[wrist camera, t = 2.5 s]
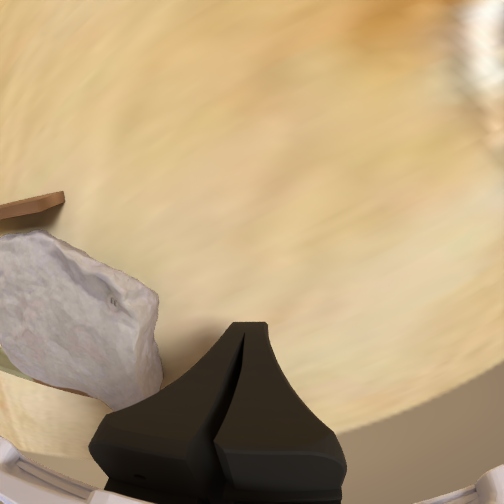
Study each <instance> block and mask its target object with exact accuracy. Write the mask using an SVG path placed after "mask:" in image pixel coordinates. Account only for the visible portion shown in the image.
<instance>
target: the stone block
mask: <svg viewBox="0 0 504 504" xmlns="http://www.w3.org/2000/svg"><path fill="white" fill-rule="evenodd" d="M158 304H159V299H158V294H157V293H156V292H155V291H153V290H151V289H150V288H148V287H147V286H145V285H144V284H143V283H142V282H140V281H139V280H137V279H135V278H133V277H130V276H129V275H127V274H126V273H124V272H123V271H120V270H116V269H113V268H111V267H109V266H108V265H106V264H104V263H100V262H98V261H96V260H94V259H93V258H91V257H90V256H89V255H88V254H87V253H86V252H84V251H82V250H80V249H77V248H75V247H73V246H71V245H70V244H68V243H67V242H65V241H62V240H60V239H57V238H56V237H54V236H52V235H51V234H49V233H48V232H46V231H43V230H40V229H37V230H34V231H32V232H29V233H25V234H21V233H16V234H9V233H8V234H6V235H3V236H2V237H0V344H1V346H2V349H3V351H4V352H5V354H6V355H7V356H8V358H9V360H10V362H11V363H12V364H13V365H14V366H16V367H17V368H18V369H19V370H20V371H21V372H22V373H24V374H26V375H28V376H30V377H32V378H34V379H37V380H40V381H42V382H44V383H47V384H49V385H51V386H56V387H63V388H71V389H75V390H79V391H82V392H85V393H87V394H88V395H90V396H91V397H94V398H97V399H100V400H102V401H103V402H104V403H105V404H106V405H107V406H109V407H110V408H111V409H112V410H113V411H118V410H121V409H123V408H126V407H129V406H131V405H134V404H136V403H138V402H140V401H142V400H144V399H146V398H148V397H150V396H152V395H154V394H156V393H157V392H159V391H160V387H161V383H162V381H163V370H162V365H161V358H160V356H159V353H158V347H157V344H156V342H155V340H154V330H155V325H156V322H157V319H158Z"/></svg>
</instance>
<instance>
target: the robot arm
mask: <svg viewBox="0 0 504 504" xmlns="http://www.w3.org/2000/svg"><path fill="white" fill-rule="evenodd" d="M88 447H89V452H90V454H91V455H92V457H93V459H94V460H95V461H96V463H97V464H98V465H99V466H100V467H101V469H102V470H103V471H104V472H105V473H106V475H107V476H108V477H109V479H108V481H107V483H106V486H105V488H104V490H102V489H99V488H96V487H93V486H91V485H88V484H85V483H83V482H80V481H77V480H75V479H72V478H69V477H67V476H65V475H62V474H60V473H58V472H56V471H54V470H51V469H49V468H47V467H45V466H43V465H41V464H39V463H37V462H35V461H32V460H31V459H29V458H27V457H25V456H23V455H21V453H20V452H19V451H18V449H17V448H16V447H15V446H14V445H13V444H12V443H11V442H10V441H8V440H7V439H5V438H3V437H1V436H0V500H1V501H2V502H3V503H4V504H341V500H342V490H341V486H342V484H343V481H344V478H345V475H346V472H347V465H346V460H345V457H344V454H343V451H342V448H341V446H340V444H339V442H338V440H337V437H336V435H335V433H334V432H333V431H332V430H331V429H330V428H328V427H327V426H326V425H325V424H324V423H323V422H322V421H321V420H319V419H318V418H317V417H316V416H315V415H314V414H313V413H312V412H311V410H310V409H309V408H308V407H307V406H306V405H305V404H304V402H303V401H302V400H301V399H300V398H299V396H298V395H297V394H296V392H295V391H294V390H293V388H292V387H291V385H290V384H289V382H288V380H287V379H286V377H285V375H284V374H283V372H282V370H281V368H280V366H279V364H278V362H277V360H276V357H275V355H274V352H273V350H272V347H271V344H270V341H269V336H268V324H267V323H266V322H233V323H232V324H231V325H230V326H229V327H228V329H227V330H226V331H225V333H224V334H223V335H222V336H221V337H220V339H219V340H218V341H217V342H216V343H215V344H214V346H213V347H212V348H211V349H210V350H209V351H208V352H207V353H206V354H205V355H204V356H203V357H202V358H201V359H200V360H199V361H198V362H197V363H196V364H195V365H194V366H193V367H192V368H191V369H190V370H189V371H187V372H186V373H185V374H184V375H183V376H181V377H180V378H179V379H177V380H176V381H175V382H173V383H171V384H170V385H168V386H167V387H165V388H164V389H162V390H160V391H159V392H157V393H156V394H154V395H152V396H150V397H148V398H146V399H144V400H142V401H140V402H138V403H136V404H134V405H131V406H129V407H126V408H123V409H121V410H118V411H115V412H113V413H110V414H106V416H105V417H104V419H103V420H102V422H101V423H100V425H99V427H98V429H97V431H96V432H95V434H94V436H93V438H92V440H91V442H90V444H89V446H88ZM413 504H504V464H502V465H500V466H498V467H495V468H493V469H491V470H489V471H488V472H486V473H485V474H483V475H482V476H481V477H480V478H479V479H478V481H477V482H476V484H474V485H471V486H469V487H466V488H463V489H460V490H457V491H454V492H452V493H448V494H445V495H442V496H438V497H435V498H432V499H428V500H424V501H421V502H417V503H413Z"/></svg>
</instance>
